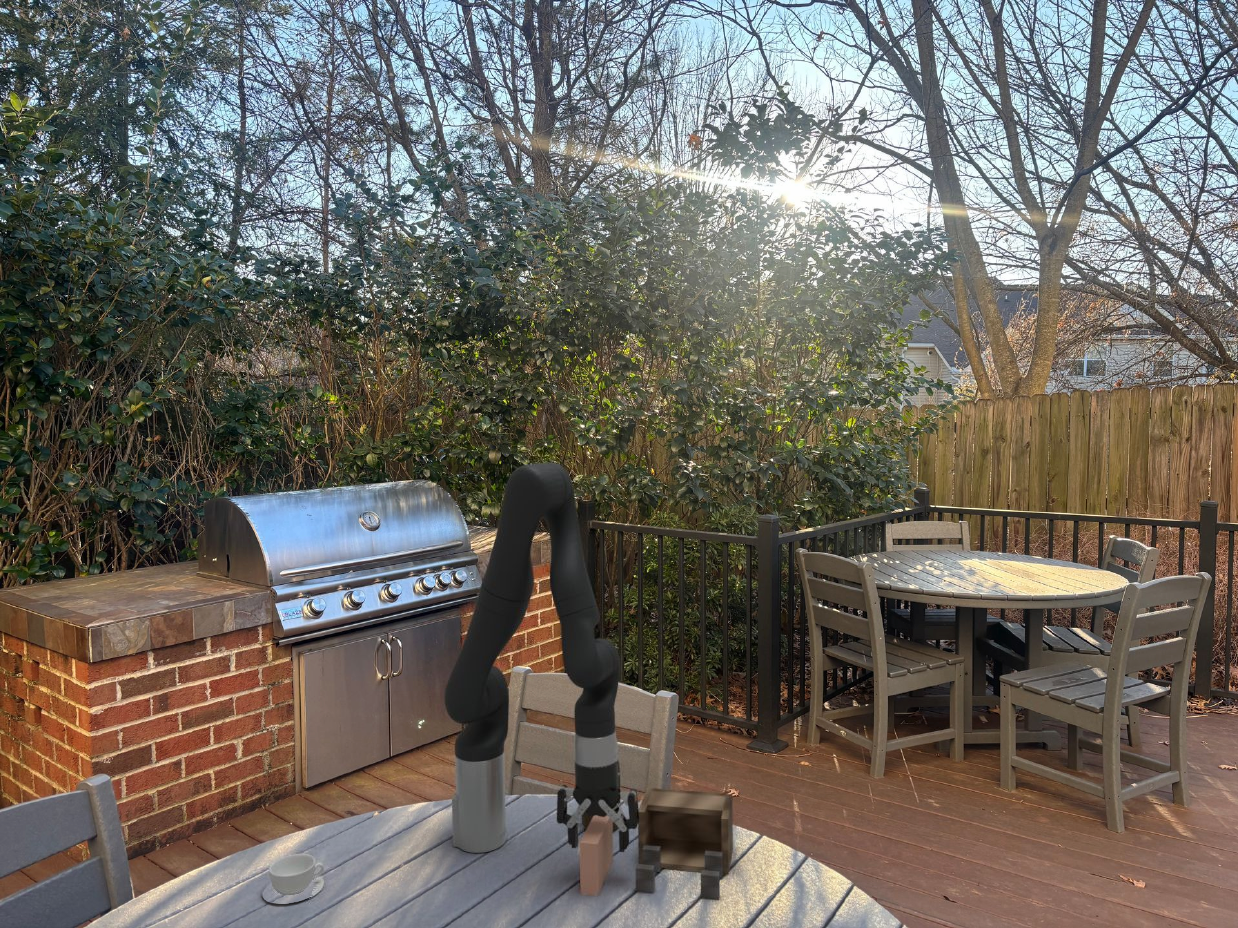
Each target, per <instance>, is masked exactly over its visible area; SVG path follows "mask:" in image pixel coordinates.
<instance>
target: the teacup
mask: <svg viewBox="0 0 1238 928" xmlns="http://www.w3.org/2000/svg"><path fill="white" fill-rule="evenodd" d="M319 867H320V868H321V869H320V871H318V873H315V872H316V870H317V869H318V868H319ZM324 869H325V868H324V864H323V862H316V859H315V857H314V856H313V855H311V854H307V853H295V854H294V853H293V854H289V855H286V856H283V857H280V858H278V859H276V860H275V861H273V862H272V864H270V866H269V868H268V871H269V877H270V883H272V886H273V887H274V889H275V890H276V891H277V892H278V893H280V894H282V895H295V894H299V893H301V892H303V891H304V890H305V889H306V888H307V887H308V886H309V884H310V883H311V881H316V882H313V883H315V884H314V885H316V886H317V887H314V888H316V889H313V890H314V891H312V893H311V894H312V895H313V896H310V897H311V898H313V897H314V896H316V895H317V894H318V893H320V891H322V890H323V888H324V885H325V881H324V879H323V877H322V875H323V873H324ZM313 879H314V880H313ZM315 879H316V880H315Z"/></svg>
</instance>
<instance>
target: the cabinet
mask: <svg viewBox="0 0 1238 928" xmlns="http://www.w3.org/2000/svg"><path fill="white" fill-rule="evenodd" d="M733 798H734V796H733V793H721V792H710V791H696V790H695V791H693V790H683V789H681V790H679V789H672V788H671V789H667V788H656V787H655V788H654V787H647V788H646V791H645V793H644V796H643V798H642V801H641V803H640V806H639V807H638V809H639V822H638V824H637V832H638V833H637V834H638V835H637V838H638V839H637V840H638V841H637V842H638V843H637V844H638V845H637V846H638V848H637V850H638V854H637V855H638V863H636V866H635V892H636V893H637V892H638V893H647V894H649V893H650V894H654V892H655V889H656V882H655V881H656V880H655V879H656V876H655V872H661V869H660V868H665V869H664V870H672V871H673V870H674V871H685V872H692V873H700V898H701V899H707V900H708V899H709V900H715V901H716V900H717V901H719V900H720V896H721V895H720V889H721V888H720V886H721V884H720V882H721V880H723V877H724V876H729V874H730V869H731V862H732V855H733V848H734V844H733V843H734V842H733V841H734V840H733V839H734V838H733V837H734V835H733V834H734V832H733V830H734V823H733V821H734V820H733V819H734V818H733V815H734V814H733V813H734V812H733V810H734V809H733Z"/></svg>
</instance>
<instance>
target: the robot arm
mask: <svg viewBox="0 0 1238 928" xmlns="http://www.w3.org/2000/svg"><path fill="white" fill-rule="evenodd" d="M577 511H578V510H577V503H576V495H575V490H574V485H573V480H572V478H571V475H570V474H569V472H568V471H567V470H566V468H564V466H562V464H559V463H556V462H549V461H548V462H540V463H531V464H524V465H521V466H519V467H517V468H516V469H515V470H513V472H512V473H511V475H510V476H509V478H508V480H507V482H506V486H505V489H504V495H503V499H502V504H501V510H500V513H499V520H498V524H497V525H498V527H497V530H496V535H495V538H494V542H493V545H492V549H491V553H490V556H489V559H488V563H487V567H486V569H485V573H484V575H483V579H482V581H481V585H480V587H479V592H478V595H477V598H476V602H475V606H474V609H473V610H474V611H473V613H472V616H471V620H470V622H469V625H468V627H467V628H468V629H467V632H466V634H465V637H464V638H465V639H464V641H463V644H462V647H461V649H460V652H459V654H458V657H457V658H456V661H455V664H454V666H453V668H452V671H451V672H450V675H449V677H448V680H447V683H446V686H445V690H444V696H443V698H444V707H445V710H446V713H447V714H448V716H449V718H450V719H451V720H452V721H453V722H455V723H457V724H461V725H466V726H465V727H464V728H463V730H462V731H461V732H460V733H459V735H458V736H457V737H456V739H455V742H454V763H455V764H454V767H455V769H454V770H455V793H454V794H453V795H452V796H451V817H452V818H451V819H452V846H453V847H455V848H459V849H461V850H462V851H464V852H468V853H474V854H475V853H476V854H477V853H478V854H480V853H488V852H491V851H494V850H497V849H499V848H500V847H502V846H503V845H504V844H505V843H506V841H507V834H506V833H507V823H506V818H507V815H506V811H507V810H506V777H505V776H506V774H505V773H506V771H505V770H506V768H505V765H506V764H505V744H506V743H505V742H506V741H507V738H508V734H509V717H510V716H509V714H510V711H509V710H510V709H509V708H510V693H509V686H508V681H507V679H506V676H505V674H504V672H502V671H501V669H500V668H499V667H497V666H495V665H494V664H495V662H496V660H497V659H498V657H499V655H501V652H502V651H503V650H504V648H505V647H506V646H507V644H508V643H509V642H510V640H512V637H514V635H515V634H516V632H517V631H518V629H519V628H520V626H521V625H522V623H523V620H524V618H525V616H526V614H527V610H528V607H529V604H530V601H531V598H532V595H533V592H534V586H535V577H534V575H535V574H534V569H533V563H532V562H533V561H532V556H531V553H532V552H531V551H532V546H533V540H534V539H535V535H536V532H537V529H538V527H539V524H540V521H541V519H542V517H543V518H544V521H545V523H546V527H547V530H548V534H549V539H550V565H549V566H550V567H549V585H550V592H551V597H552V600H553V603H554V607H555V610H556V615H557V617H558V620H559V624H560V638H561V651H562V652H561V653H562V663H563V666H564V670H565V673H566V675H567V677H568V678H569V680H570V681H571V682H572V683H573V684H574V685H575V686H576V687H578V688H581V689H582V692H581V694H580V695H579V697H578V698H577V700H576V702H575V704H574V740H573V741H574V742H573V753H574V756H573V757H574V781H575V782H574V783H575V784H574V785H575V786H574V788H573V787H572V788H571V787H568V785H566V784H562V785H561V786H560V788H559V789H558V791H557V792H556V793H557V794H556V795H557V796H556V797H557V798H556V822H557V823H558V824H559V825H562V824H563V825H565V826H566V827H567V843H568V845H569V846H571V849H577V848H578V847H579V823H578V821H579V819H580V818H582V817H581V816H582V814H583V813H586V814H588V816H595V815H597V816H600V817H605V816H607V815H608V816H609V818H610V819H611V820H612V822H614V823H615V824H616V825H617V826H618V828H617V829H619V831H618V846H619V847H618V850H619V851H618V852H619V853H625V851H626V850H627V849H628V846H629V844H630V830H631V829H632V830H635V829H638V822H639V800H638V791H637V790H636V789H635V788H631V789H630V791H624V790H623V791H622V790H621V788H620V789H619V785H618V761H619V757H618V755H619V749H618V740H617V734H616V713H615V705H616V704H615V703H616V699H617V695H618V688H619V681H620V674H621V659H620V656H619V651H618V650H617V648H616V646H615V645H614V644H613V642H612V641H610V640H608V639H605V638H595V627H596V625H597V624H598V623H599V621H600V612H599V608H598V605H597V601H596V598H595V595H594V591H593V587H592V584H591V581H590V577H589V573H588V571H587V570H588V569H587V566H586V562H585V557H584V551H583V544H582V539H581V532H580V525H579V518H578V512H577ZM571 797H572V798H573V799H574V801H575V802H576V803H577V804H578V806H577V808H576V809H575V810H574V812H573V813H572V814H569V813H568V802H569V801H570V799H571ZM621 800H623V802H624V804H625V805H626V806H627V809H628V817H627V816H626V815H625V813H624V812H623V809H622V806H621V805H620V806H619V805H618V802H619V801H620V802H621Z"/></svg>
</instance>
